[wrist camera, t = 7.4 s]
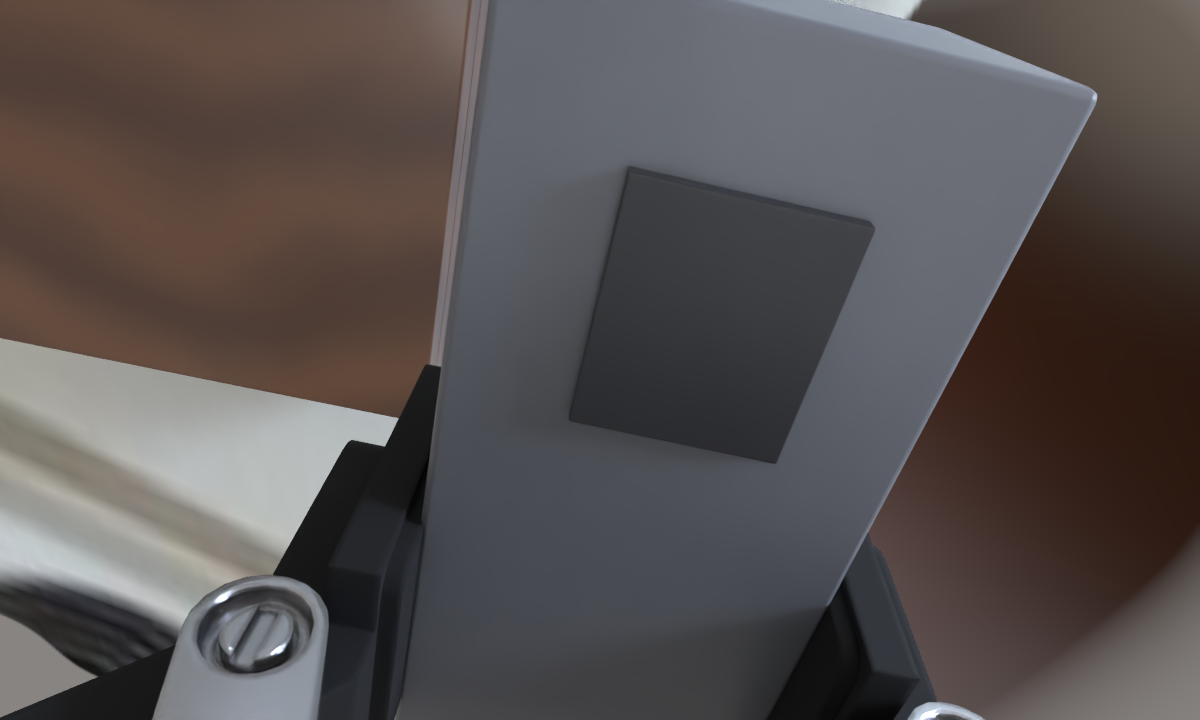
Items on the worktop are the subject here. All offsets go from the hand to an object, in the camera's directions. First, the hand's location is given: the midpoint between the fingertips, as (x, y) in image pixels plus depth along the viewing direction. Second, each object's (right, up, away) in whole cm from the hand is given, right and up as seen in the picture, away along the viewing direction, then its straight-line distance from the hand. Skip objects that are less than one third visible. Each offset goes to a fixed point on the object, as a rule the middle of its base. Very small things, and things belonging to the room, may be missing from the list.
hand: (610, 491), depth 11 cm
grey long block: (0, 0, +1) cm, 1 cm away
